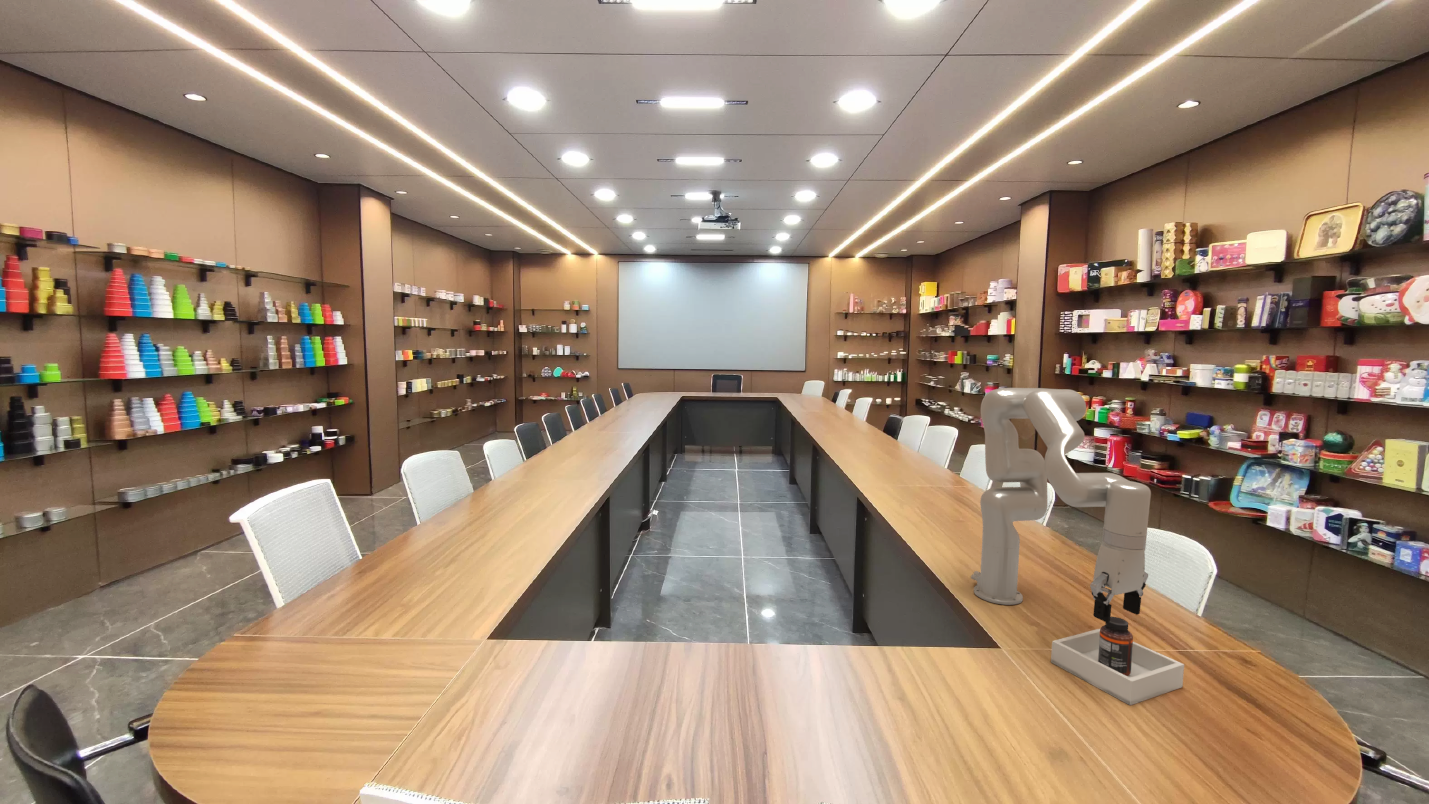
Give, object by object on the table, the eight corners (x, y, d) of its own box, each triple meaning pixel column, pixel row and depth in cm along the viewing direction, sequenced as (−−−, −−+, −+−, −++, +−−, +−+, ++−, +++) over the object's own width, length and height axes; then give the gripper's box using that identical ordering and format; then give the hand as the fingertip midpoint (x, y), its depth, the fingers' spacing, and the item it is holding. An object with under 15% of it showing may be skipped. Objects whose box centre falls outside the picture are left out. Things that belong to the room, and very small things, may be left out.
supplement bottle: (1120, 663, 127) (1123, 614, 126) (1137, 678, 121) (1141, 627, 120) (1091, 661, 128) (1095, 613, 127) (1107, 676, 122) (1111, 626, 121)
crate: (1050, 662, 129) (1052, 640, 128) (1100, 648, 135) (1102, 627, 135) (1130, 705, 113) (1132, 681, 113) (1182, 687, 120) (1184, 664, 119)
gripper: (1131, 529, 128) (1124, 601, 130) (1079, 538, 122) (1072, 614, 124) (1168, 540, 122) (1160, 616, 124) (1115, 550, 115) (1107, 631, 117)
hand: (1116, 615), depth 124 cm, fingers open, 9 cm apart
